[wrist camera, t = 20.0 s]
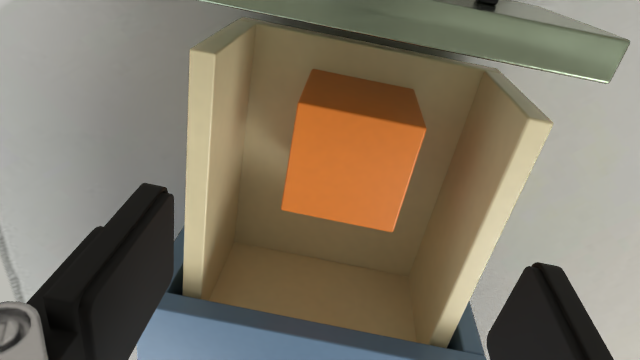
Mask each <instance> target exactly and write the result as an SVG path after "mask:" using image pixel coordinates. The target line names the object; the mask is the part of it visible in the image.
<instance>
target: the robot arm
mask: <svg viewBox="0 0 640 360" xmlns="http://www.w3.org/2000/svg"><path fill="white" fill-rule="evenodd" d="M173 272H174V197H173V195H172V194H168V191H167V188H166V187H162V186H157V185H152V184H147V183H143V184H142V185H140V187H139V188H138V189H137V190H136V191H135V192H134V193H133V194H132V196H131V197H130V198H129V199H128V200H127V201H126V202H125V204H124V205H123V206H122V207H121V208H120V209H119V210H118V211H117V213H116V214H115V215H114V216H113V217H112V218H111V219H110V221H109V222H108V223H107V224H106V225H105V226H104V227H102V226H99V227H96V228H95V229H94V230H93V231H91V233H90V234H89V235H88V236H87V237H86V238H85V239H84V240H83V241H82V242H81V244H80V245H79V246H78V247H77V248H76V249H75V250H74V251H73V252H72V253H71V255H70V256H69V257H68V258H67V259H66V260H65V261H64V262H63V263H62V264H61V266H60V267H59V268H58V269H57V270H56V271H55V272H54V273H53V274H52V275H51V277H50V278H49V279H48V280H47V281H46V282H45V283H44V284H43V285H42V286H41V288H40V289H39V290H38V291H37V292H36V293H35V294H34V295H33V296H32V298H31V299H30V300H29V301H28V302H27V303H22V302H9V301H7V302H1V303H0V360H128V359H129V357H130V355H131V353H132V351H133V350H134V348H135V346H136V344H137V342H138V341H139V339H140V337H141V335H142V333H143V332H144V330H145V328H146V326H147V324H148V323H149V321H150V319H151V317H152V315H153V314H154V312H155V310H156V308H157V306H158V305H159V303H160V301H161V299H162V297H163V296H164V294H165V292H166V290H167V288H168V287H169V285H170V283H171V280H172V277H173ZM487 349H488V353H489V356H490V360H614V359H613V357H612V356H611V354H610V352H609V350H608V349H607V347H606V345H605V343H604V342H603V340H602V338H601V336H600V334H599V333H598V331H597V329H596V327H595V326H594V324H593V322H592V320H591V319H590V317H589V315H588V313H587V311H586V310H585V308H584V306H583V304H582V303H581V301H580V299H579V297H578V296H577V294H576V292H575V290H574V289H573V287H572V285H571V283H570V281H569V280H568V278H567V276H566V274H565V273H564V271H563V270H562V268H560V267H558V266H554V265H549V264H544V263H539V262H537V263H534V264H533V265H532V266H531V267H530V266H528V267H526V268H525V269H524V271H523V273H522V274H521V276H520V278H519V280H518V282H517V283H516V285H515V287H514V289H513V290H512V292H511V294H510V296H509V298H508V299H507V301H506V303H505V305H504V307H503V308H502V310H501V312H500V314H499V315H498V317H497V319H496V321H495V323H494V324H493V326H492V328H491V330H490V331H489V333H488V336H487Z"/></svg>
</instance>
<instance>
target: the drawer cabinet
mask: <svg viewBox="0 0 640 360" xmlns="http://www.w3.org/2000/svg"><path fill="white" fill-rule="evenodd" d="M184 226H185V225H184ZM183 260H184V227H183V229H182V230H181V232H180V233H179V235H178V236H177V238H176V240H175V241H174V272H173V277H172V280H171V283H170V285H169V287H168V288H167V290H166V292H165V294H164V296H163V297H162V299H161V301H160V303H159V305H158V306H157V308H156V310H155V312H154V314H153V315H152V317H151V319H150V321H149V323H148V324H147V326H146V328H145V330H144V332H143V333H142V335H141V337H140V339H139V341H138V342H137V360H486V357H485V356H484V355H485V354H484V350H483V347H482V343H481V340H480V336H479V333H478V329H477V326H476V322H475V319H474V316H473V312H472V309H471V305H470V302H468V304H467V306H466V308H465V310H464V312H463V315H462V317H461V319H460V321H459V323H458V325H457V327H456V329H455V331H454V333H453V335H452V338H451V340H450V342H449V344H448V346H447V348H442V347H437V346H432V345H427V344H422V343H417V342H412V341H407V340H402V339H397V338H392V337H387V336H382V335H377V334H372V333H367V332H362V331H357V330H352V329H347V328H342V327H337V326H332V325H327V324H322V323H317V322H312V321H307V320H302V319H297V318H292V317H287V316H282V315H277V314H272V313H267V312H262V311H257V310H252V309H247V308H242V307H237V306H232V305H227V304H222V303H217V302H212V301H207V300H202V299H197V298H192V297H187V296H182V295H183Z"/></svg>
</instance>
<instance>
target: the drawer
mask: <svg viewBox="0 0 640 360" xmlns="http://www.w3.org/2000/svg"><path fill="white" fill-rule="evenodd" d="M198 1H203V2H208V3H213V4H218V5H222V6H227V7H232V8H237V9H242V10H247V11H252V12H257V13H262V14H266V15H271V16H276V17H281V18H286V19H291V20H296V21H301V22H306V23H311V24H315V25H320V26H325V27H330V28H335V29H340V30H345V31H350V32H355V33H360V34H364V35H369V36H374V37H379V38H384V39H389V40H394V41H399V42H404V43H409V44H413V45H418V46H423V47H428V48H433V49H438V50H443V51H448V52H453V53H457V54H462V55H467V56H472V57H477V58H482V59H487V60H492V61H497V62H502V63H506V64H511V65H516V66H521V67H526V68H531V69H536V70H541V71H546V72H551V73H555V74H560V75H565V76H570V77H575V78H580V79H585V80H590V81H595V82H600V83H604V84H607V83H609V82H610V81H611V79H612V77H613V75H614V73H615V71H616V69H617V68H618V66H619V64H620V62H621V60H622V58H623V56H624V54H625V52H626V50H627V48H628V46H629V44H630V41H629V40H628V39H625V38H622V37H620V36H617V35H614V34H612V33H609V32H606V31H604V30H601V29H598V28H596V27H593V26H590V25H588V24H585V23H582V22H580V21H577V20H574V19H572V18H569V17H566V16H563V15H561V14H558V13H555V12H553V11H550V10H547V9H545V8H542V7H539V6H535V5H530V4H525V3H520V2H515V1H511V0H198ZM312 69H317V70H322V71H327V72H332V73H336V74H341V75H346V76H351V77H356V78H361V79H366V80H371V81H376V82H381V83H386V84H390V85H395V86H400V87H405V88H410V89H413V90H414V91H415V94H416V97H417V100H418V104H419V107H420V110H421V113H422V116H423V119H424V122H425V125H426V128H427V130H426V133H425V136H424V139H423V142H422V145H421V148H420V152H419V155H418V158H417V161H416V164H415V167H414V170H413V173H412V176H411V179H410V182H409V185H408V189H407V192H406V195H405V198H404V201H403V204H402V207H401V210H400V213H399V216H398V219H397V222H396V226H395V229H394V231H393V232H387V231H382V230H377V229H372V228H367V227H363V226H358V225H353V224H348V223H343V222H338V221H333V220H328V219H323V218H318V217H313V216H308V215H303V214H298V213H293V212H288V211H283V210H281V203H282V197H283V191H284V185H285V178H286V172H287V166H288V160H289V153H290V147H291V141H292V135H293V129H294V122H295V116H296V110H297V104H298V101H299V99H300V96H301V94H302V91H303V89H304V87H305V84H306V82H307V80H308V77H309V75H310V72H311V70H312ZM552 126H553V122H552V121H551V120H550V119H549V118H548V117H547V116H546V115H545V114H544V113H543V112H542V111H540V110H539V109H538V108H537V107H536V106H535V105H534V104H533V103H532V102H531V101H530V100H529V99H528V98H527V97H526V96H525V95H524V94H523V93H522V92H521V91H520V90H519V89H518V88H517V87H516V86H515V85H514V84H513V83H511V82H510V81H509V80H508V79H507V78H506V77H505V76H504V75H503V74H502V73H501V72H500V71H499V70H498V69H496V68H491V67H486V66H482V65H477V64H472V63H467V62H462V61H457V60H452V59H447V58H442V57H437V56H433V55H428V54H423V53H418V52H413V51H408V50H403V49H398V48H393V47H388V46H384V45H379V44H374V43H369V42H364V41H359V40H354V39H349V38H344V37H339V36H335V35H330V34H325V33H320V32H315V31H310V30H305V29H300V28H295V27H290V26H286V25H281V24H276V23H271V22H266V21H261V20H256V19H251V18H246V17H242V18H240V19H239V20H236V21H235V22H233V23H232V24H230V25H228V26H227V27H225V28H223V29H222V30H220V31H218V32H217V33H215V34H214V35H212V36H210V37H209V38H207V39H205V40H204V41H202V42H201V43H199V44H197V45H196V46H194V47H192V48H191V49H190V55H189V89H188V123H187V158H186V192H185V226H184V260H183V295H182V296H187V297H192V298H197V299H202V300H207V301H212V302H217V303H222V304H227V305H232V306H237V307H242V308H247V309H252V310H257V311H262V312H267V313H272V314H277V315H282V316H287V317H292V318H297V319H302V320H307V321H312V322H317V323H322V324H327V325H332V326H337V327H342V328H347V329H352V330H357V331H362V332H367V333H372V334H377V335H382V336H387V337H392V338H397V339H402V340H407V341H412V342H417V343H422V344H427V345H432V346H437V347H442V348H447V346H448V344H449V342H450V340H451V338H452V335H453V333H454V331H455V329H456V327H457V325H458V323H459V321H460V319H461V317H462V315H463V312H464V310H465V308H466V306H467V304H468V302H469V300H470V298H471V296H472V294H473V291H474V289H475V287H476V285H477V283H478V281H479V279H480V277H481V275H482V273H483V271H484V268H485V266H486V264H487V262H488V260H489V258H490V256H491V254H492V252H493V250H494V247H495V245H496V243H497V241H498V239H499V237H500V235H501V233H502V231H503V229H504V227H505V224H506V222H507V220H508V218H509V216H510V214H511V212H512V210H513V208H514V206H515V203H516V201H517V199H518V197H519V195H520V193H521V191H522V189H523V187H524V185H525V183H526V180H527V178H528V176H529V174H530V172H531V170H532V168H533V166H534V164H535V162H536V159H537V157H538V155H539V153H540V151H541V149H542V147H543V145H544V143H545V141H546V139H547V136H548V134H549V132H550V130H551V128H552Z"/></svg>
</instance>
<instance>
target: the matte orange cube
mask: <svg viewBox="0 0 640 360" xmlns="http://www.w3.org/2000/svg"><path fill="white" fill-rule="evenodd" d="M426 130H427V128H426V125H425V122H424V119H423V116H422V113H421V110H420V107H419V104H418V100H417V97H416V94H415V91H414V90H413V89H410V88H405V87H400V86H395V85H390V84H386V83H381V82H376V81H371V80H366V79H361V78H356V77H351V76H346V75H341V74H336V73H332V72H327V71H322V70H317V69H312V70H311V72H310V75H309V77H308V80H307V82H306V84H305V87H304V89H303V91H302V94H301V96H300V99H299V101H298V104H297V110H296V116H295V122H294V129H293V135H292V141H291V147H290V153H289V160H288V166H287V172H286V178H285V185H284V191H283V197H282V203H281V210H283V211H288V212H293V213H298V214H303V215H308V216H313V217H318V218H323V219H328V220H333V221H338V222H343V223H348V224H353V225H358V226H363V227H367V228H372V229H377V230H382V231H387V232H393V231H394V229H395V226H396V222H397V219H398V216H399V213H400V210H401V207H402V204H403V201H404V198H405V195H406V192H407V189H408V185H409V182H410V179H411V176H412V173H413V170H414V167H415V164H416V161H417V158H418V155H419V152H420V148H421V145H422V142H423V139H424V136H425V133H426Z"/></svg>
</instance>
